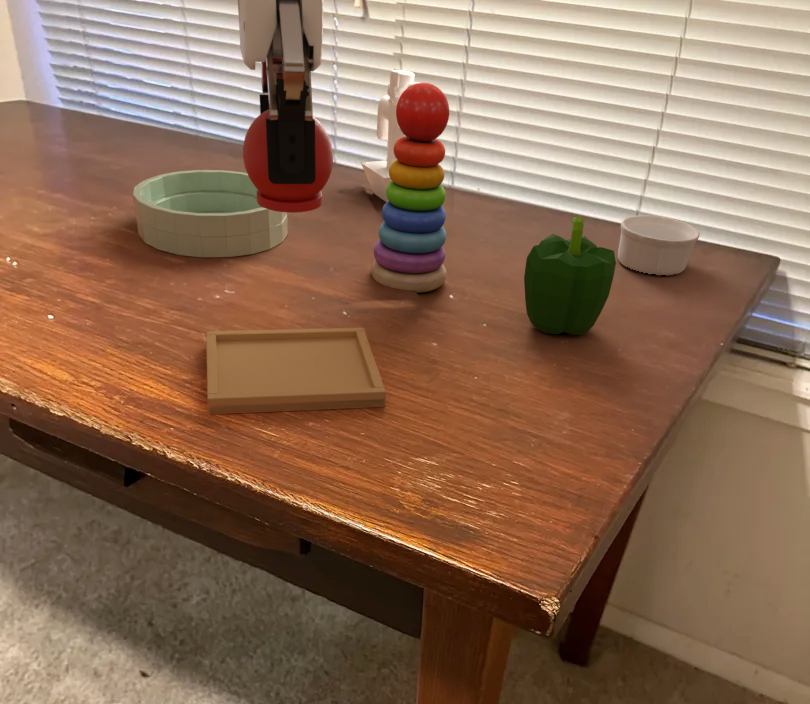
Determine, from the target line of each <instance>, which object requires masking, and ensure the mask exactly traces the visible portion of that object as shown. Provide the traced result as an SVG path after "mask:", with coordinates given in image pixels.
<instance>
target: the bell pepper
mask: <svg viewBox="0 0 810 704" xmlns="http://www.w3.org/2000/svg"><path fill="white" fill-rule="evenodd" d="M571 223H572V228H571V236H570V239H567V238H563V237H561V236H560V235H558V234H555V233H551V234H550V235H548V236H547V237H545V238H544V239H542V240H541V241H540V242H539V244H537V245H533V247H532V248H531V250H530V251H529V252H528V255H527V256H526V261H525V269H524V275H523V282H524V285H523V286H524V299H525V308H526V309H525V310H526V315H527V317H528V319H529V321H530V323H531V324H532V326H533V327H534V328H535V329H536V330H538V331H541V332H543V333H546V334H551V335H552V334H553V335H559V334H562V333H566V334H569V335H576V336H577V335H578V336H582V335H584V334H586V333H588V332H589V331H590V330H591V329H592V328H593V327H594V326H595V324H596V322H597V320H598V318H599V317H600V316H601V313H602V311H603V309H604V307H605V305H606V303H607V301H608V298H609V295H610V292H611V288H612V284H613V280H614V276H615V270H616V266H617V262H616V260H617V259H616V255H615V251H614V250H613V249H609V248H606V247H604V246H603V247H602V246H597V245H596V244H595V243H594V242H593V241H592V240H590V239H589V238H588V237H587V236H583V232H584V218H583V217H582V216H573V218H572V220H571Z"/></svg>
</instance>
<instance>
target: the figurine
mask: <svg viewBox="0 0 810 704" xmlns="http://www.w3.org/2000/svg"><path fill="white" fill-rule="evenodd" d="M389 75H390V76H389V83H388V84H387V87H388V88H387V90H386V91H387V94H385V95H383V96H381V97H380V99H379V101H378V105H377V113H376V114H377V117H376V137H377V139H378V140H380V141H387V149H386V160H376V161H375V160H374V161H361V162H360V165H361V167H362V169H363V171H364V173H365V176H366V178H367V181H368V183H369V185H370V188H371V190H372V192H373V194H374V195H375V196H377V197H378V198H379V199H381V200H382V201H384V202H385V203H387V202H388V199H387V196H386V188H387V186H388V184H389V183H390V182H391V181H392V180H391V178H390V176H389V167H390V165H391V164H392V163H393V162H394V161H396V160H397V159H396V157H395V155H394V145H395V143H396V141H397V140H398V139H400V138H402V137H405V135H404V134H403V132H402V131H401V129H400V127H399V125H398V123H397V118H396V107H397V103H398V100H399V98H400V96H401V94H402V93H403V92H404V91H405V90H406V89H407V88H408V87H410V86H411V85H413V84H416V83H421V82H420V81H415V73H414V72H412V71H409V70H403V69H393V68H392V69H390V74H389Z"/></svg>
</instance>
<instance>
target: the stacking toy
mask: <svg viewBox="0 0 810 704" xmlns="http://www.w3.org/2000/svg"><path fill="white" fill-rule="evenodd" d="M396 118H397V123H398V125H399V127H400V129H401V131H402V132H403V134H404V135H405V137H402V138H400V139H398V140H397V141H396V143H395V145H394V155H395V157H396V159H397V160H396V161H394V162H393V163H392V164H391V165H390V167H389V176H390V178H391V180H392V181H391V182H390V183H389V184H388V186H387V188H386V196H387V199H388V202H385V203H384V204H383V207H382V211H381V216H382V219H383V222H382V223H381V225H379V228H378V237H379V240H378V241H376V243H375V244H374V248H373V256H374V259H375V260H374V261H373V263H372V264H371V269H370V273H371V276H372V278H373V279H374V281H375V282H377V283H378V284H380V285H383V286H385V287H387V288H389V289H390V288H391V289H395V290H400V291H408V292H409V291H411V292H414V291H415V293H416V294H417V293H426V292H431V291H435V290H437V289H438V288H440V287H441V286H442V285H443V284H444V283H445V281H446V280H447V269H446V267H445V265H444V263H445V260H446V250H445V248H444V245H445V243H446V240H447V232H446V229H445V227H444V224H445V222H446V219H447V215H446V211H445V209H444V207H443V205H444V203H445V201H446V196H447V195H446V190H445V188H444V187H443V185H442V183H443V182H444V179H445V171H444V168H443V166H442V165H440V163H442V162H443V161H444V158H445V156H446V148H445V145H444V143H443V142H442V141H440V140H438V138H439V137H440V136H441V135H442V134H443V133H444V131H445V130H446V128H447V126H448V123H449V119H450V105H449V101H448V98H447V96H446V95H445V93H444V92H443V91H442V90H441V89H440V87H437V86H436V85H434V84H433V83H430V82H429V83H428V82H420V83H416V84H413V85H411V86H410V87H408V88H407V89H406V90H405V91H404V92H403V93H402V94H401V96H400V98H399V100H398V103H397V107H396Z"/></svg>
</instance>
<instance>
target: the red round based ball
mask: <svg viewBox="0 0 810 704" xmlns="http://www.w3.org/2000/svg"><path fill="white" fill-rule="evenodd" d="M266 118H270V113H269V110H266V111H265V112H263V113H262V114H259V115H258V116H256V118H254V120H253V122H252V123H251V124H250V126H249V127H248V129H247V131H246V134H245V137H244V140H243V147H242V158H243V165H244V168H245V171H246V173H247V174H248V176H249V178H250V180H251V182H252V183H253V184H254V186H255V187H256V188H257V189H258V190H257V193H256V194H257V203H258V204H259V205H260V206H261V207H263V208H266V209H269V210H273V211H278V212H287V213H291V214H292V213H293V214H295V213H303V212H304V213H305V212H311V211H314V210H317V209H319V208H320V207H321V206H322V204H323V194H322V190H323V189H324V188H325V186H326V185H327V184H328V181H329V179H330V177H331V174H332V170H333V165H334V152H333V151H334V150H333V147H332V145H333V144H332V142H331V139H330V137H329V135H328V134H329V133H328V132H327V130H326V129H325V127H324V126H323V124H322V123H321V122H320V121H319V120H318V119H317V118H316V116H315V115H313V119H315V166H316V179H315V182H314V183H312V184H273V183H271V182H270V180H269V177H268V160H267V138H266Z"/></svg>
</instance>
